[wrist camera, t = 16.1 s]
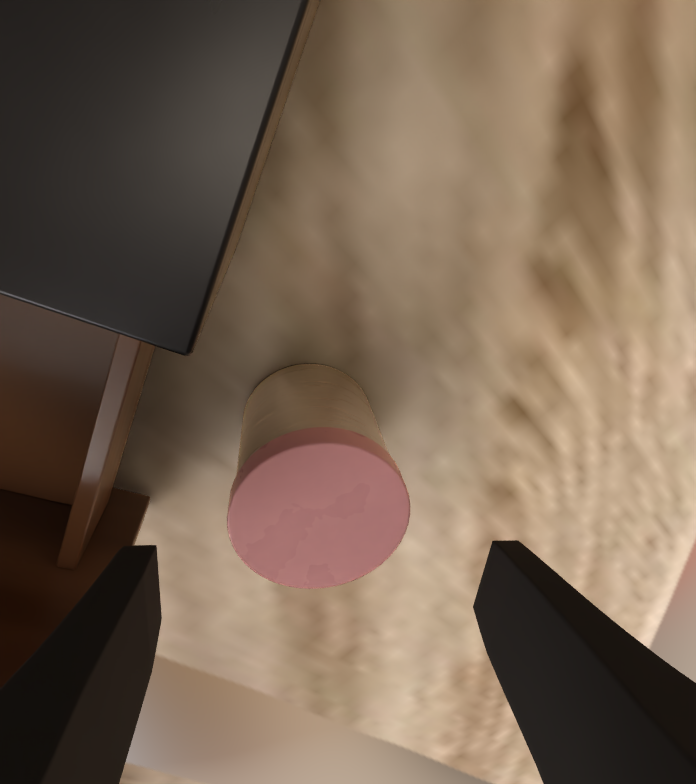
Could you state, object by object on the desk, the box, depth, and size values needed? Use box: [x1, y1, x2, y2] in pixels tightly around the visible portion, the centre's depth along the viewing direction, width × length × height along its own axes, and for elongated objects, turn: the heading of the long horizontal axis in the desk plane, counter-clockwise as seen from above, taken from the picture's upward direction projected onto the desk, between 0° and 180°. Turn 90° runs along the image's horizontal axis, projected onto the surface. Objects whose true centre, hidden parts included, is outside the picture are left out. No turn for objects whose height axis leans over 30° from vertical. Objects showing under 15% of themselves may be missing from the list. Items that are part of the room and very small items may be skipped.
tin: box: [227, 364, 410, 589], centre depth 15 cm, size 5×5×5 cm
